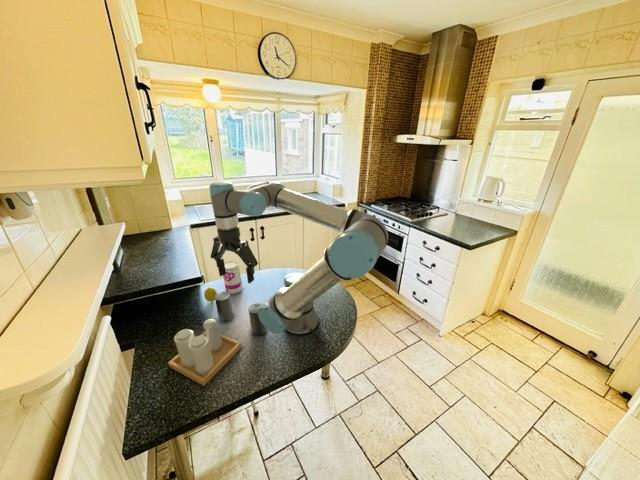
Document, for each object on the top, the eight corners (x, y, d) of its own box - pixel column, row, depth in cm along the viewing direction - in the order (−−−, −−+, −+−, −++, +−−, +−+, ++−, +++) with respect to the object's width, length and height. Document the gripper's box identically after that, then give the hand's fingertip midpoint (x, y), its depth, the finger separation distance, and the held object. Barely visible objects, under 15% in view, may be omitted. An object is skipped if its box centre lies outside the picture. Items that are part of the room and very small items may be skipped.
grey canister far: (236, 316, 115) (232, 294, 110) (226, 324, 110) (222, 302, 105) (226, 312, 117) (222, 290, 112) (216, 320, 112) (211, 298, 108)
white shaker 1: (203, 357, 94) (196, 330, 88) (189, 370, 89) (181, 342, 83) (192, 352, 96) (184, 325, 91) (178, 364, 91) (169, 336, 86)
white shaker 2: (218, 364, 91) (211, 337, 86) (204, 378, 86) (196, 350, 81) (205, 358, 93) (198, 331, 88) (191, 371, 88) (183, 343, 83)
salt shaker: (215, 356, 94) (208, 329, 89) (203, 351, 96) (196, 324, 91) (226, 345, 99) (221, 319, 94) (215, 340, 101) (209, 314, 96)
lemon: (210, 306, 121) (207, 292, 118) (203, 302, 124) (200, 288, 120) (220, 300, 125) (217, 286, 122) (213, 296, 128) (210, 283, 125)
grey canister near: (269, 328, 108) (266, 305, 103) (260, 338, 103) (257, 314, 98) (257, 324, 110) (255, 301, 105) (248, 333, 105) (245, 310, 100)
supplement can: (237, 295, 129) (233, 269, 123) (222, 293, 130) (218, 268, 124) (245, 286, 136) (241, 261, 130) (231, 284, 138) (226, 260, 131)
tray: (241, 347, 99) (240, 342, 98) (204, 387, 84) (202, 381, 83) (209, 333, 105) (208, 328, 104) (169, 367, 90) (167, 362, 89)
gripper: (263, 227, 89) (269, 279, 97) (209, 219, 98) (218, 267, 106) (250, 235, 83) (257, 290, 91) (193, 225, 92) (204, 276, 100)
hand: (236, 278), depth 99 cm, fingers open, 13 cm apart
